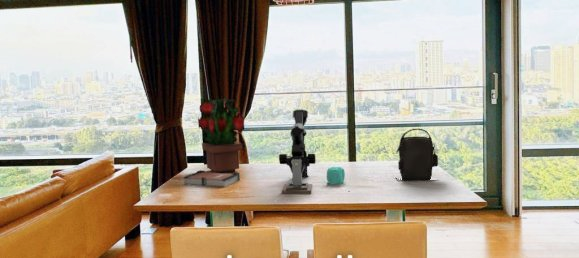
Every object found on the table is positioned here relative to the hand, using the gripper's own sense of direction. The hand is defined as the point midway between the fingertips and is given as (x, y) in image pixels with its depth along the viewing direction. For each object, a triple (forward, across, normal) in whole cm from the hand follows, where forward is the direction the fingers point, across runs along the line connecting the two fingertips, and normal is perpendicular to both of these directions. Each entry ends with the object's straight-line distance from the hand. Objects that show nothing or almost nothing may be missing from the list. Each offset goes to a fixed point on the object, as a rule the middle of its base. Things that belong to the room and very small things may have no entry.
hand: (296, 172), depth 240 cm
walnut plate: (+6, 0, +8) cm, 10 cm away
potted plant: (-30, -50, +44) cm, 74 cm away
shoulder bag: (-10, +64, +24) cm, 69 cm away
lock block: (+4, 0, +6) cm, 7 cm away
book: (-8, -50, +22) cm, 55 cm away
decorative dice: (-6, +20, +20) cm, 29 cm away
